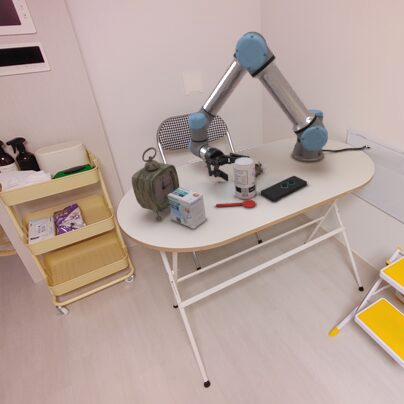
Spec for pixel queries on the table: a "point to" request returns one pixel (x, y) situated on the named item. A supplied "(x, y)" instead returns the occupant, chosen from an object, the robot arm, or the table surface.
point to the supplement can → (244, 178)
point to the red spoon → (246, 204)
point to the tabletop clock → (154, 184)
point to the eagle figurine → (259, 169)
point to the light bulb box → (187, 207)
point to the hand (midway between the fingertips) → (241, 172)
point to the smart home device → (283, 188)
